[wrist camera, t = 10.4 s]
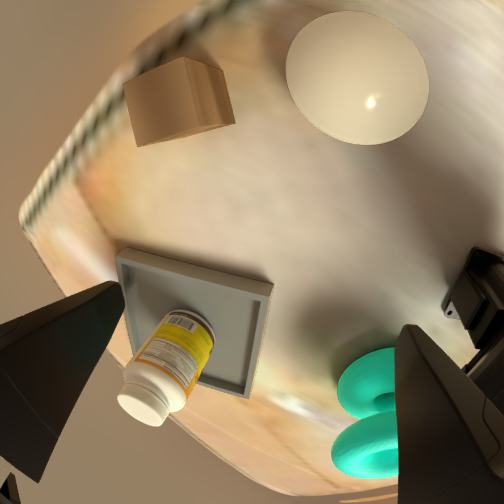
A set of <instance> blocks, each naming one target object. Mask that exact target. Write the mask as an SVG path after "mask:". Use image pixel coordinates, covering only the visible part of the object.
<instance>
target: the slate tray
mask: <svg viewBox="0 0 504 504" xmlns="http://www.w3.org/2000/svg"><path fill="white" fill-rule="evenodd" d="M115 257H116V265H117V272H118V279H119V283H120V285H121V287H122V291H123V295H124V299H125V309H124V315H125V320H126V325H127V330H128V335H129V340H130V344H131V349H132V353H133V356H134V355H135V354H136V352H137V351H138V350H139V348H140V347H141V346H142V345H143V343H144V342H145V341H146V339H147V338H148V337H149V335H150V334H151V333H152V332H153V330H154V329H155V328H156V326H157V325H158V324H159V323H160V321H161V320H162V319H163V318H164V316H165V315H166V314H167V313H169V312H171V311H173V310H187V311H190V312H193V313H195V314H197V315H199V316H200V317H202V318H203V319H204V320H205V321H206V322H207V323H208V324H209V325H210V326H211V328H212V330H213V332H214V335H215V345H214V348H213V350H212V352H211V354H210V356H209V358H208V360H207V362H206V364H205V366H204V368H203V370H202V372H201V374H200V376H199V378H198V380H197V381H196V384H199V385H202V386H205V387H209V388H212V389H215V390H218V391H221V392H225V393H228V394H231V395H235V396H238V397H242V398H246V399H249V398H250V395H251V392H252V389H253V385H254V380H255V376H256V371H257V366H258V362H259V357H260V352H261V347H262V343H263V338H264V333H265V328H266V323H267V318H268V313H269V308H270V303H271V298H272V293H273V288H274V284H270V283H265V282H261V281H257V280H253V279H249V278H244V277H240V276H236V275H232V274H228V273H224V272H220V271H216V270H212V269H208V268H204V267H200V266H196V265H192V264H188V263H184V262H180V261H176V260H173V259H169V258H165V257H161V256H157V255H154V254H150V253H146V252H142V251H139V250H135V249H131V248H127V247H126V248H125V249H124V250H122V251H121V252H120V253H118V254H117V255H116V256H115Z"/></svg>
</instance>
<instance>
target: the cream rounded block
mask: <svg viewBox="0 0 504 504" xmlns="http://www.w3.org/2000/svg"><path fill="white" fill-rule="evenodd" d="M285 69H286V80H287V85H288V88H289V91H290V94H291V96H292V98H293V100H294V102H295V104H296V106H297V107H298V109H299V110H300V112H301V113H302V114H303V115H304V116H305V117H306V119H308V120H309V121H310V122H311V123H312V124H313V125H314V126H315V127H317V128H318V129H319V130H321V131H322V132H324V133H326V134H327V135H329V136H331V137H334V138H336V139H338V140H341V141H344V142H347V143H353V144H359V145H375V144H381V143H386V142H389V141H392V140H394V139H396V138H398V137H400V136H402V135H403V134H405V133H406V132H408V131H409V130H410V129H411V128H412V127H413V126H414V125H415V124H416V123H417V121H418V120H419V119H420V117H421V115H422V113H423V112H424V109H425V106H426V104H427V99H428V94H429V79H428V73H427V69H426V66H425V63H424V60H423V58H422V56H421V54H420V52H419V51H418V49H417V48H416V46H415V45H414V43H413V42H412V41H411V40H410V39H409V37H408V36H407V35H406V34H404V33H403V32H402V31H401V30H400V29H399V28H397V27H396V26H395V25H393V24H391V23H390V22H388V21H386V20H384V19H382V18H380V17H378V16H375V15H372V14H368V13H364V12H358V11H338V12H333V13H329V14H326V15H323V16H320V17H318V18H316V19H314V20H313V21H311V22H310V23H308V24H307V25H306V26H305V27H304V28H303V29H301V30H300V32H299V33H298V34H297V35H296V37H295V38H294V40H293V42H292V43H291V46H290V48H289V51H288V54H287V59H286V68H285Z"/></svg>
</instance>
